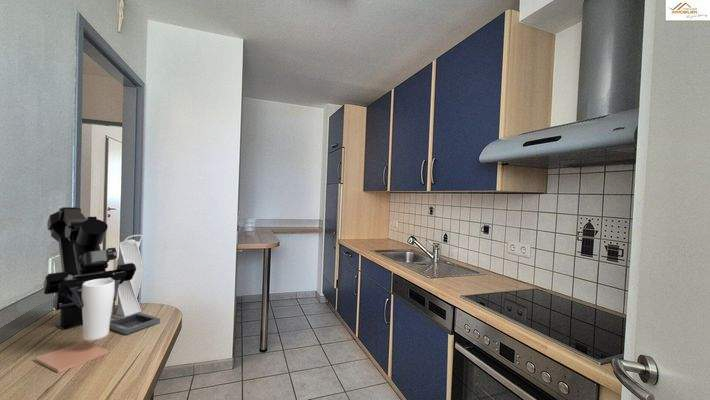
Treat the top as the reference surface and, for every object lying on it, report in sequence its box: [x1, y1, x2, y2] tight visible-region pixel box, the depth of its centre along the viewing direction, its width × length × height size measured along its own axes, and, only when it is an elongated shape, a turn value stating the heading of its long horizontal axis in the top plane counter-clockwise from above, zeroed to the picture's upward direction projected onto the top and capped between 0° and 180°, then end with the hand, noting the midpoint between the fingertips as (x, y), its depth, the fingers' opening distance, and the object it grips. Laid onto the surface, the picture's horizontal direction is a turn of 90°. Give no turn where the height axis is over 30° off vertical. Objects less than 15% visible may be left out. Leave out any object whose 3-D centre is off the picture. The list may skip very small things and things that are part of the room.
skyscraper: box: [111, 234, 144, 319], centre depth 105 cm, size 8×8×28 cm
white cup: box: [81, 278, 115, 342], centre depth 80 cm, size 7×7×15 cm
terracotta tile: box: [34, 340, 109, 374], centre depth 77 cm, size 12×10×1 cm
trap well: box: [109, 312, 161, 336], centre depth 96 cm, size 12×10×2 cm
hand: (98, 303), depth 79 cm, fingers closed on white cup, 7 cm apart
